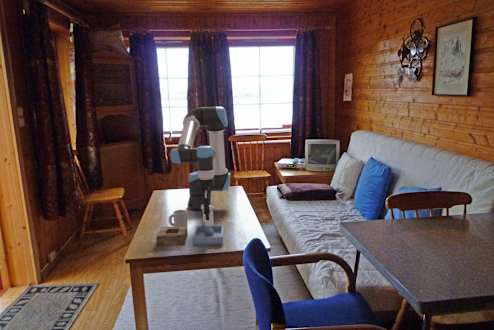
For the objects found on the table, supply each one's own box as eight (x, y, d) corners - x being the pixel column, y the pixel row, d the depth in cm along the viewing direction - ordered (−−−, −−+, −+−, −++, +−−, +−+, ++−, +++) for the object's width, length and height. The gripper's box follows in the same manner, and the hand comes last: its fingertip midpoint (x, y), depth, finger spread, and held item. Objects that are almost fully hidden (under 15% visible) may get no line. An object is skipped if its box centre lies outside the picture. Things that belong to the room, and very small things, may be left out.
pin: (203, 233, 183) (201, 203, 180) (215, 232, 183) (214, 203, 181) (202, 237, 177) (200, 207, 174) (215, 237, 177) (213, 207, 174)
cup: (188, 228, 195) (187, 213, 194) (169, 231, 193) (168, 215, 192) (187, 224, 202) (186, 209, 201) (169, 226, 200) (167, 211, 199)
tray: (196, 233, 188) (196, 226, 188) (223, 232, 189) (223, 225, 188) (193, 245, 173) (192, 238, 172) (222, 244, 173) (222, 236, 172)
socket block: (162, 236, 186) (161, 226, 185) (187, 234, 187) (187, 225, 186) (157, 246, 174) (156, 236, 173) (184, 245, 174) (183, 235, 173)
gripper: (199, 174, 184) (202, 218, 188) (196, 182, 166) (199, 230, 170) (214, 173, 184) (216, 217, 188) (212, 182, 166) (215, 230, 170)
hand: (208, 223), depth 179 cm, fingers closed on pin, 5 cm apart
